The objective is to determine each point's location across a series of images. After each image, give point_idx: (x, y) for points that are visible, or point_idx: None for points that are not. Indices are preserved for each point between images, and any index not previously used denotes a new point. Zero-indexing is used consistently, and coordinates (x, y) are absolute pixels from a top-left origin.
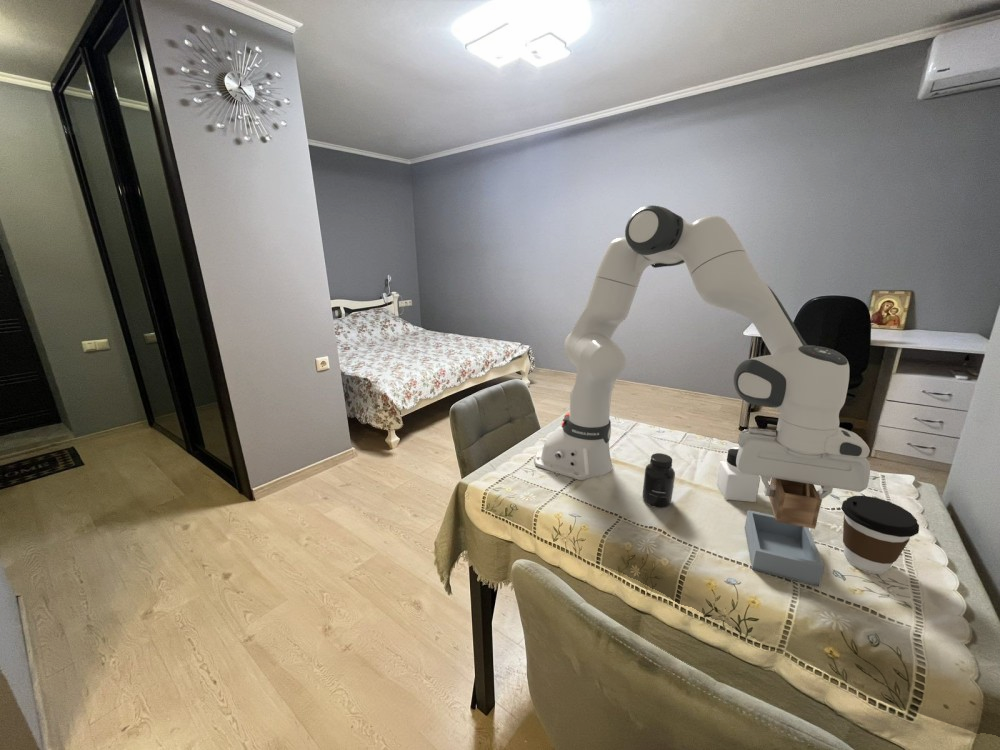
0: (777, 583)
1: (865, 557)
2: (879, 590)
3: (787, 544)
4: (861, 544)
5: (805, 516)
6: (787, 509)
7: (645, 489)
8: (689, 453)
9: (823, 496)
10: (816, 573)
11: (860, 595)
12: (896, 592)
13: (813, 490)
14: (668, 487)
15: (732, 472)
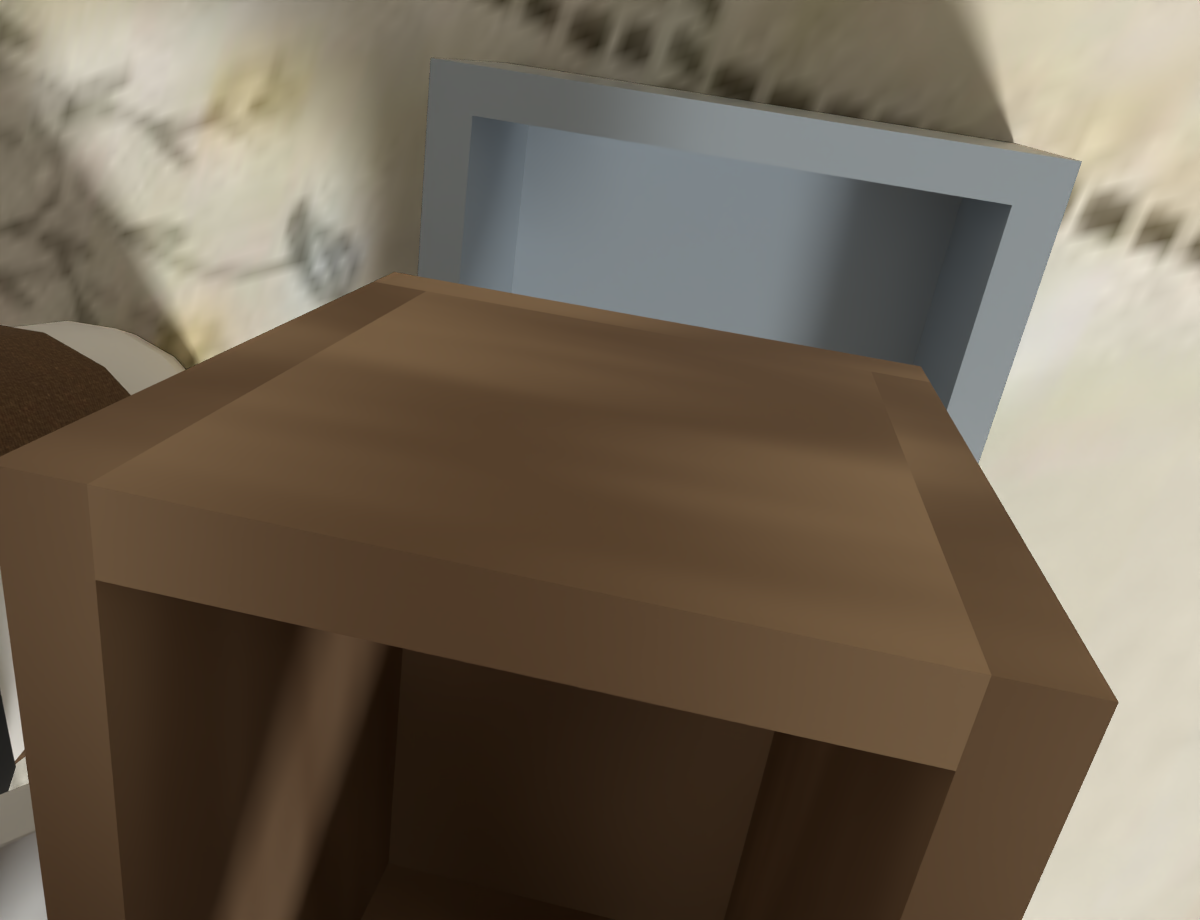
0: (846, 4)
1: (75, 358)
2: (107, 150)
3: None
4: (33, 411)
5: (489, 344)
6: (803, 439)
7: None
8: None
9: (23, 804)
10: (508, 66)
11: (238, 50)
12: (14, 160)
13: (107, 908)
14: None
15: None
